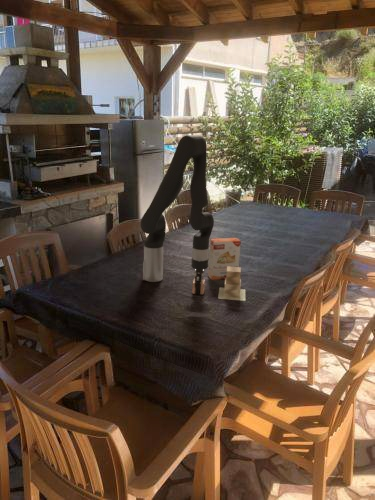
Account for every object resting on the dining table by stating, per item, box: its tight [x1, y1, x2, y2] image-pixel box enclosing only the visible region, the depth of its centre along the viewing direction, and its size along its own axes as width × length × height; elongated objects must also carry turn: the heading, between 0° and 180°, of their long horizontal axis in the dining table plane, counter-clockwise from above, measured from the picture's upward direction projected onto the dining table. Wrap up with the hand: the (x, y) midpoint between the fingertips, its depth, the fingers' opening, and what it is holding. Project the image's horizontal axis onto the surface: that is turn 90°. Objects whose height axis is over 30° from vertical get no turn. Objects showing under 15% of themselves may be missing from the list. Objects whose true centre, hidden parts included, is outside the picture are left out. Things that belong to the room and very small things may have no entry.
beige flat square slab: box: [217, 287, 246, 302], centre depth 187 cm, size 12×12×2 cm
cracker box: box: [207, 237, 242, 281], centre depth 203 cm, size 14×6×21 cm, turn 105°
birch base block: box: [223, 278, 242, 298], centre depth 186 cm, size 7×7×6 cm
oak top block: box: [226, 266, 242, 285], centre depth 184 cm, size 6×6×6 cm
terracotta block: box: [191, 278, 206, 295], centre depth 188 cm, size 5×5×6 cm
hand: (198, 291), depth 188 cm, fingers closed on terracotta block, 5 cm apart
